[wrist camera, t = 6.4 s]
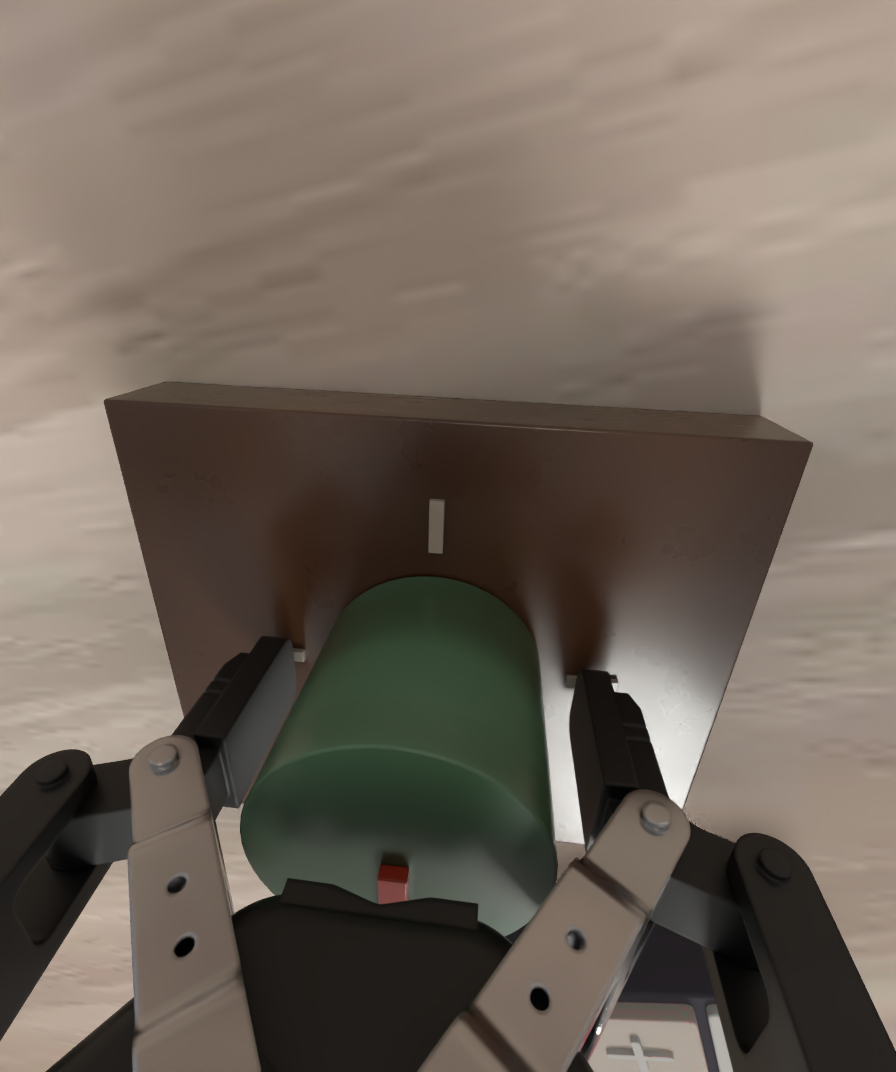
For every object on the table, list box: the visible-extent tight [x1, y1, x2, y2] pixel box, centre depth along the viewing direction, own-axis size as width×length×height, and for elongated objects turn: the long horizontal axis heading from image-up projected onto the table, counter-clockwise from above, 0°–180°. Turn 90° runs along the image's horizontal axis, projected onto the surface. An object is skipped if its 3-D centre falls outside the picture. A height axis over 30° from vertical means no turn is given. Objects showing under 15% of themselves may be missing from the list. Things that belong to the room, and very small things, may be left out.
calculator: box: [504, 922, 733, 1072], centre depth 23 cm, size 11×4×15 cm
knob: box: [240, 576, 558, 936], centre depth 12 cm, size 6×6×6 cm
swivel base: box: [104, 382, 813, 845], centre depth 16 cm, size 16×14×3 cm
